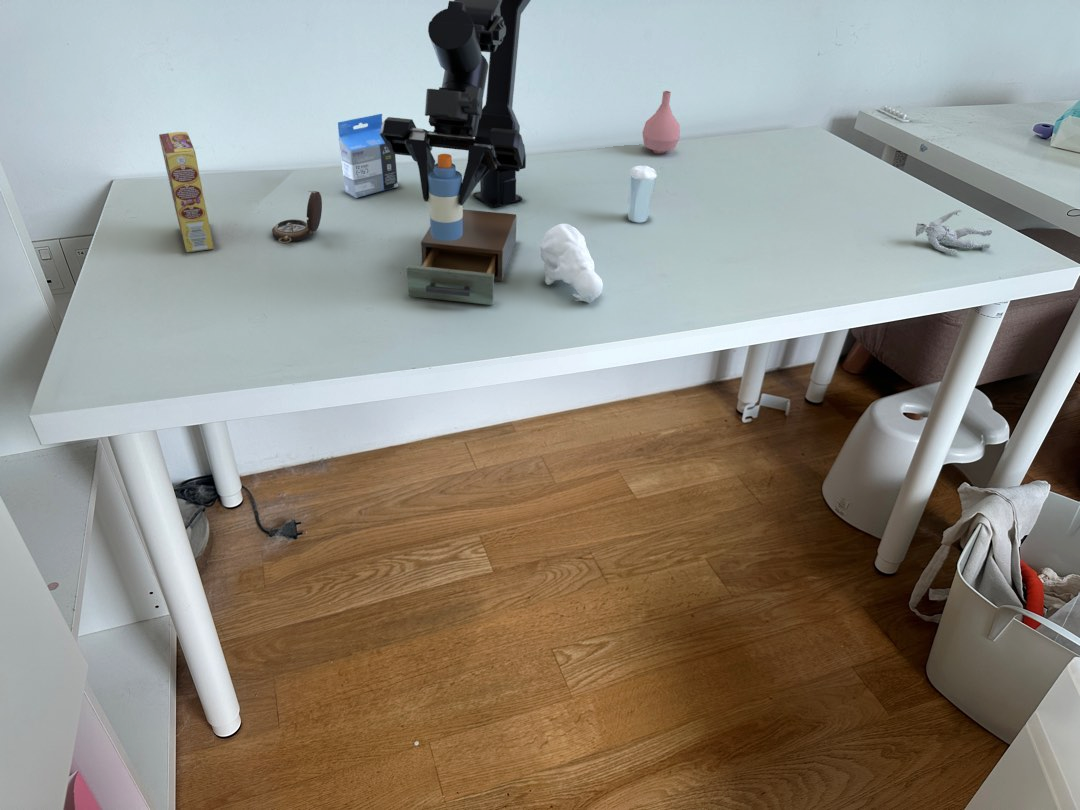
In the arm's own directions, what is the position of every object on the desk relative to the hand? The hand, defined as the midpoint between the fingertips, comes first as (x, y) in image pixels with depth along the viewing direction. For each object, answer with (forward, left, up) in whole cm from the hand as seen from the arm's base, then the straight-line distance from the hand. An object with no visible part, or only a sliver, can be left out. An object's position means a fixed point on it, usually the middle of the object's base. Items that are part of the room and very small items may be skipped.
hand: (442, 202), depth 105 cm
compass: (-28, -10, -14) cm, 33 cm away
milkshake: (-4, +42, -14) cm, 44 cm away
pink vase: (-27, +69, -14) cm, 75 cm away
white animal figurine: (+10, +16, -14) cm, 23 cm away
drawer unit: (-7, +9, -13) cm, 18 cm away
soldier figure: (+32, +80, -14) cm, 87 cm away
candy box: (-35, -23, -14) cm, 44 cm away
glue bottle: (-1, +1, -5) cm, 5 cm away
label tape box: (-39, +9, -14) cm, 42 cm away
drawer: (-1, +3, -13) cm, 13 cm away
